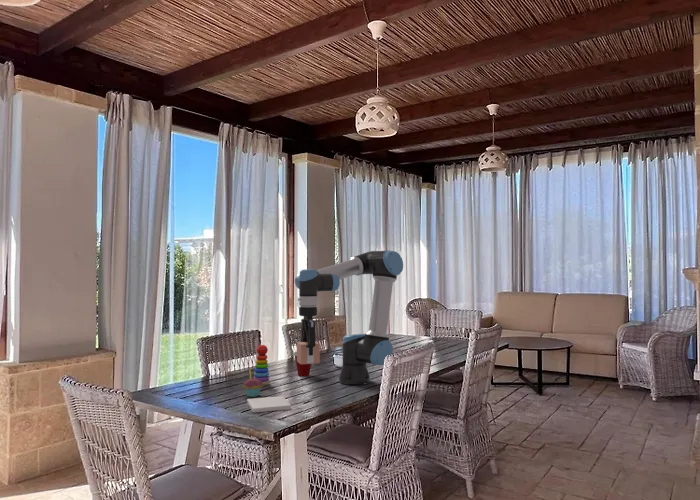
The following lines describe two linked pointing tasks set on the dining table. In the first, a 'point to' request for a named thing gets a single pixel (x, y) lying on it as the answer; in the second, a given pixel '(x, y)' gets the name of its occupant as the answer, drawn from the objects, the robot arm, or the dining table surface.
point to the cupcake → (252, 386)
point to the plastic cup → (302, 367)
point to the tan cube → (303, 353)
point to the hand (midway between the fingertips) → (307, 361)
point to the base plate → (268, 404)
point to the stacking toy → (262, 366)
